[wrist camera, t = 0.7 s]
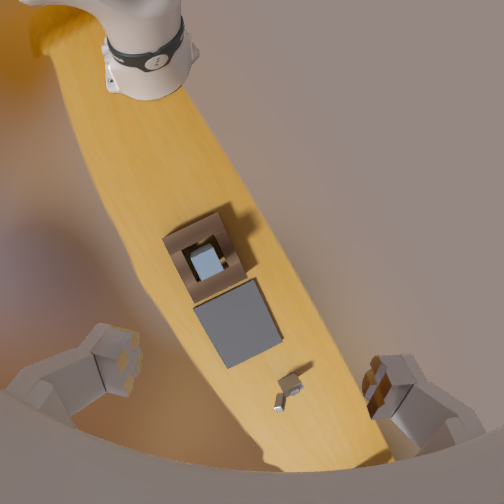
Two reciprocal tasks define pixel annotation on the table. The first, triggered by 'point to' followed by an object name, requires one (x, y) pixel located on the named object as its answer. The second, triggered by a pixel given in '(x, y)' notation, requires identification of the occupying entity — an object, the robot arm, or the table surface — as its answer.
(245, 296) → the rubber mat
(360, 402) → the table surface
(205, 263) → the peg
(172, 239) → the pocket holder
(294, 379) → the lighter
